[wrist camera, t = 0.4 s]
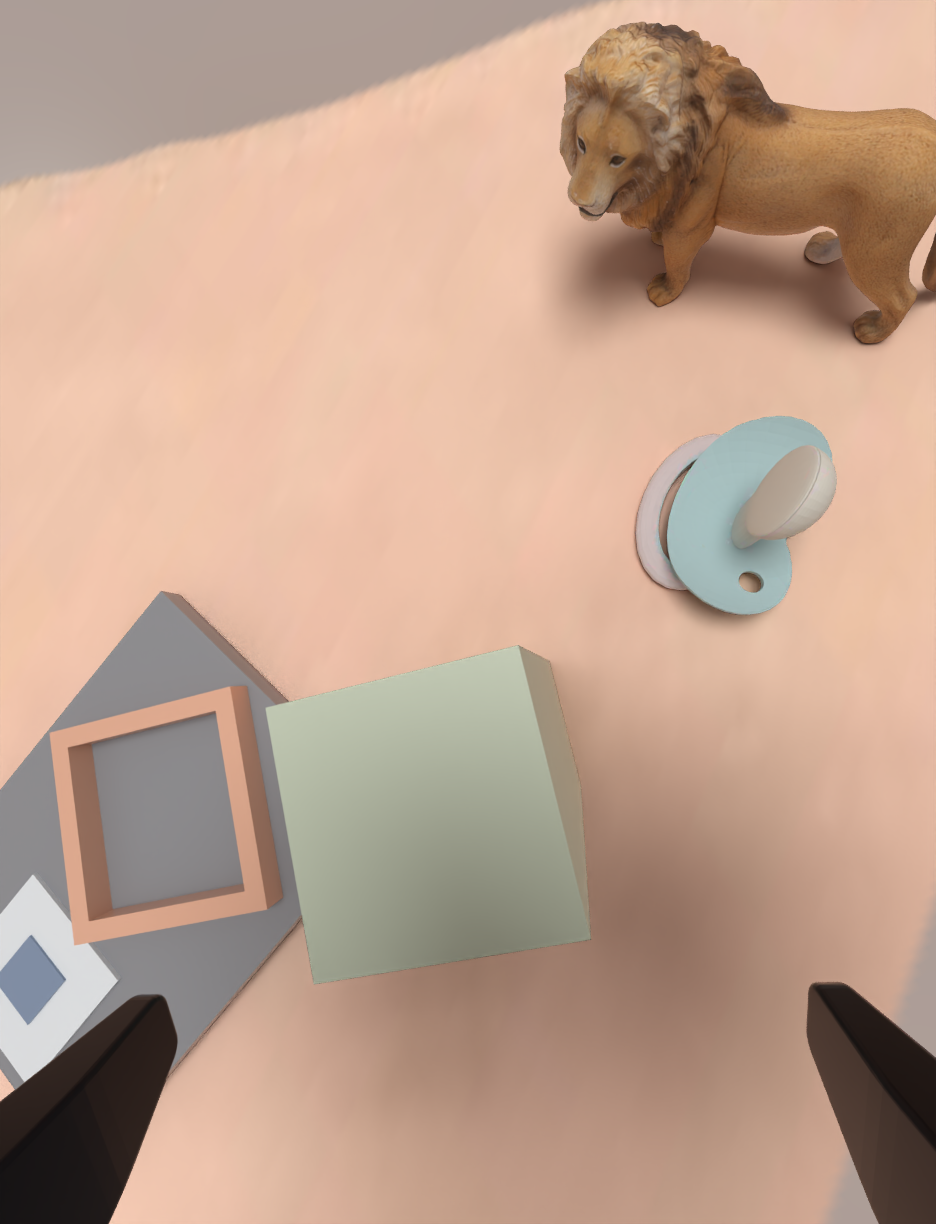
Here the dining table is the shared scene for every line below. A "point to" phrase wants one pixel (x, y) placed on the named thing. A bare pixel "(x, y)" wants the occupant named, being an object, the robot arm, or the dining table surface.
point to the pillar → (433, 816)
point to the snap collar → (86, 833)
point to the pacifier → (736, 511)
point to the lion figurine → (746, 165)
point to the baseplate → (137, 851)
